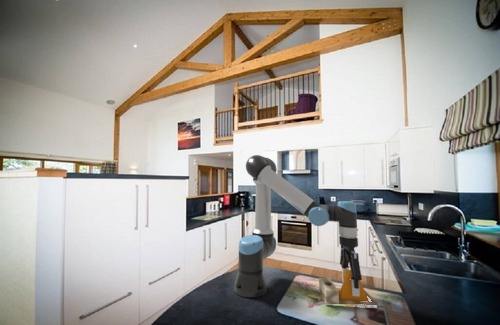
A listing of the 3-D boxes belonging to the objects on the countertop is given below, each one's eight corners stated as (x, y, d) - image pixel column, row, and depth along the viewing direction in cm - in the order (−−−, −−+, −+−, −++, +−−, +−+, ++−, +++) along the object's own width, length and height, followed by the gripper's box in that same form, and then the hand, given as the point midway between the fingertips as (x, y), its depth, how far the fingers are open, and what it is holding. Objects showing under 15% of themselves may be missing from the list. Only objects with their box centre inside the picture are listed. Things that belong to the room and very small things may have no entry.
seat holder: (326, 306, 83) (325, 289, 84) (319, 291, 95) (318, 277, 96) (378, 309, 82) (377, 292, 82) (364, 293, 94) (363, 279, 94)
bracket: (360, 296, 91) (358, 268, 93) (368, 305, 84) (366, 274, 86) (335, 295, 92) (334, 267, 94) (341, 304, 85) (340, 273, 87)
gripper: (369, 243, 80) (372, 304, 77) (347, 231, 103) (349, 278, 100) (349, 242, 81) (352, 303, 78) (331, 230, 103) (333, 277, 100)
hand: (350, 289), depth 89 cm, fingers open, 10 cm apart
